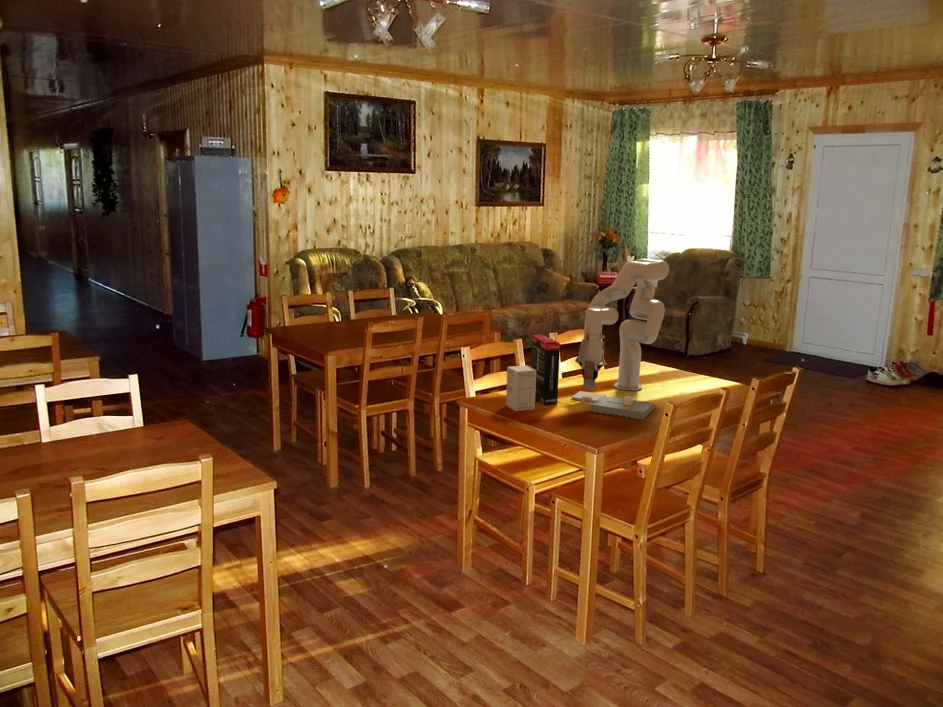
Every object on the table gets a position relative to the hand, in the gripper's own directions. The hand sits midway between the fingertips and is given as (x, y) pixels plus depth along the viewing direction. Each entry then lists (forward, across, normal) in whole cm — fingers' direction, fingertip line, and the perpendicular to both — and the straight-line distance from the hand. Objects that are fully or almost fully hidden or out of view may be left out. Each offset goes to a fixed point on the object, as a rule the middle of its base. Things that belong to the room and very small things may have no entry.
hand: (589, 377), depth 349 cm
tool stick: (+4, 0, 0) cm, 4 cm away
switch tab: (+6, -21, +12) cm, 24 cm away
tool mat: (+9, 0, 0) cm, 9 cm away
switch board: (+9, -18, +12) cm, 23 cm away
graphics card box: (+10, +16, +14) cm, 23 cm away
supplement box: (+10, +20, +30) cm, 37 cm away
